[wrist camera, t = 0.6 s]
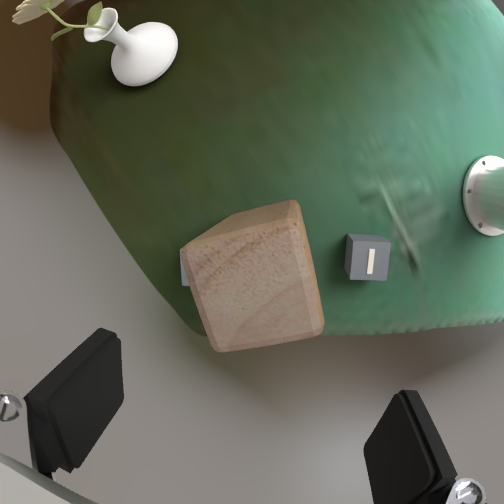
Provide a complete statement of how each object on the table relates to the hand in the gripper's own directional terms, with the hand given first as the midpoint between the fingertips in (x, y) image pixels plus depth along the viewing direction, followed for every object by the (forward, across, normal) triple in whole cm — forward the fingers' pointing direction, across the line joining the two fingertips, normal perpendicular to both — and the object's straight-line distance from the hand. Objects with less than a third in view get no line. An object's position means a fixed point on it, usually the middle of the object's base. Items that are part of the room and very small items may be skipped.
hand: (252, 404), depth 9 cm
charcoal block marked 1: (+34, -12, +1) cm, 36 cm away
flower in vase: (+35, +25, -23) cm, 49 cm away
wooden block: (+34, 0, +2) cm, 34 cm away
